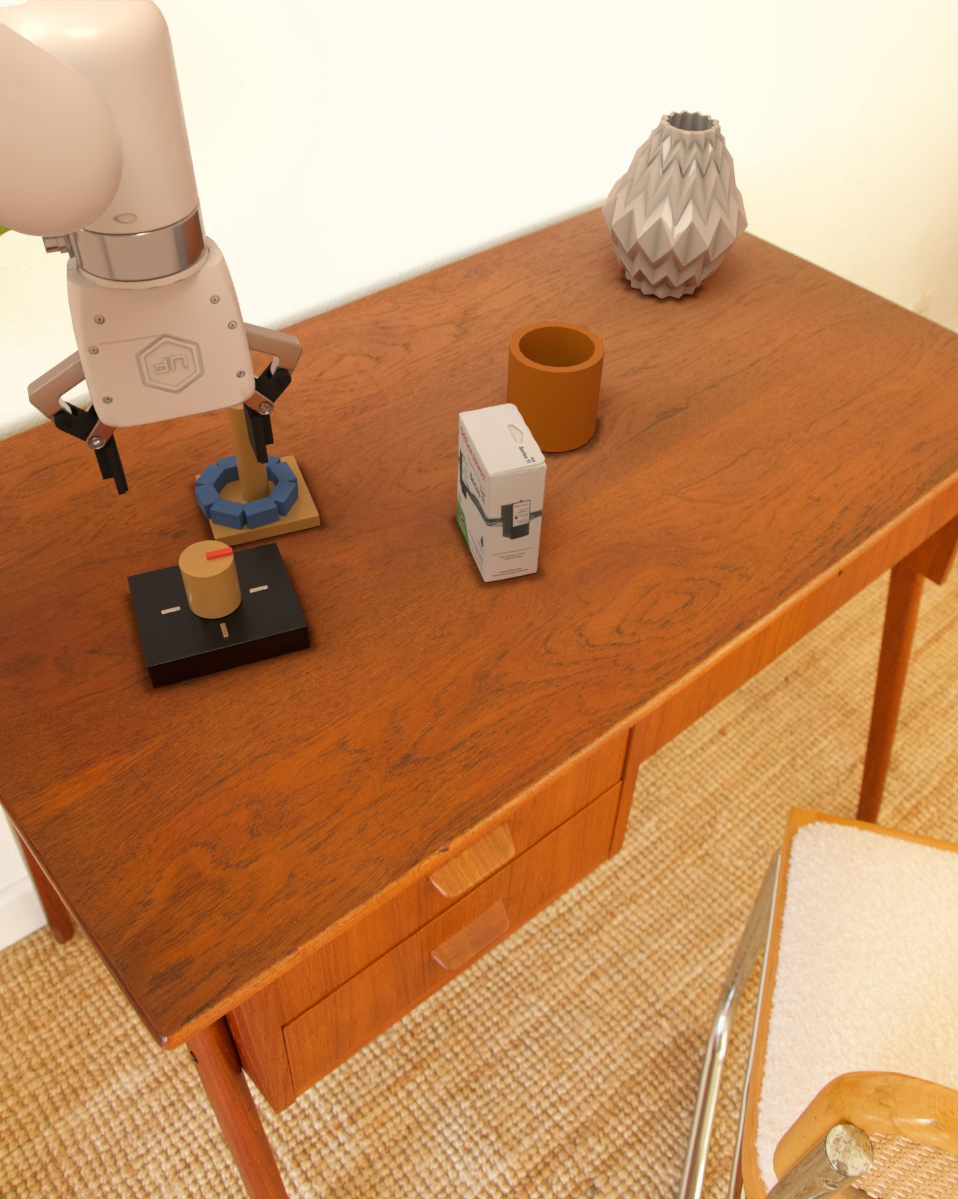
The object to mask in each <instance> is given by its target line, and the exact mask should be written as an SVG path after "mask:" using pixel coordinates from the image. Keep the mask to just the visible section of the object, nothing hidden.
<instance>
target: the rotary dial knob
mask: <svg viewBox="0 0 958 1199" xmlns="http://www.w3.org/2000/svg"><path fill="white" fill-rule="evenodd" d="M233 552H234V551H233V548H232V546H228V545H226V544H224V543H222V542H219V541H215V540H212V539H211V540H209V539H208V540H207V539H206V540H201V541H197V542H194V543H193V544H190V545H188V546H187V547H186V548H185V549H184V550H183V551H182V552H181V554H180V555H179V558H178V565H179V567H180V571H181V575H182V579H183V583H184V587H185V591H186V595H187V599H188V603H189V606H190V609H191V610H192V612H193V613H195V614H196V615H198V616H200V617H203V618H207V619H216V618H221V617H224V616H227V615H229V614H231V613H232V612H234V611H235V610H236V609H237V608H238V606H239V605H240V603H241V599H242V596H241V591H240V586H239V580H238V575H237V570H236V565H235V560H234V555H233Z"/></svg>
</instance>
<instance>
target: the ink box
mask: <svg viewBox="0 0 958 1199" xmlns="http://www.w3.org/2000/svg"><path fill="white" fill-rule="evenodd" d="M457 449H458V452H457V454H458V455H457V482H456V496H457V497H456V498H457V499H456V522H457V524H458V526H459V528H460V530H461V533H462V535H463V537H464V540H465V541H466V544H467V547H468V549H469V551H470V553H471V555H472V557H473V560H474V562H475V564H476V566H477V568H478V571H479V573H480V575H481V578H482V579H483V581H484V582H485V583H490V582H495V581H501V580H507V579H512V578H517V577H521V576H527V575H531V574H536V573H538V567H539V554H540V545H541V544H540V543H541V533H542V522H543V510H544V501H545V500H544V499H545V490H546V489H545V488H546V481H547V480H546V479H547V469H548V467H547V463H546V457H545V455H544V454H543V451H541V450H540V448H539V446H538V444H537V443H536V441H535V440H534V438H533V436H532V434H531V432H530V430H529V428H528V427H527V425H526V424H525V422H524V419H523V417H522V416H521V414H520V413H519V411H518V409H517V407H516V406H515V405H514V404H510V403H508V404H507V403H503V404H497V405H492V406H488V407H483V408H478V409H474V410H469V411H463V412H462V411H461V412H459V413H458V448H457Z"/></svg>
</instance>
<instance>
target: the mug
mask: <svg viewBox="0 0 958 1199" xmlns="http://www.w3.org/2000/svg"><path fill="white" fill-rule="evenodd" d="M605 350H606V349H605V345H604V343H603V340H602V339H601V338H600V337H599V335H598V334H596V333H595V332H594V331H591V330H590V329H589V328H588V326H586V325H584V324H580V323H579V324H574V323H571V322H570V323H569V322H564V321H563V322H562V321H542V322H539V323H532V324H529V325H526V326H524V327H522V328H520V329H518V331H516V332H515V333H514V334H513V335H512V336H511V338H510V340H509V343H508V364H507V383H506V384H507V385H506V386H507V388H506V404H508V403H510V404H514V405H515V406H516V407H517V409H518V411H519V413H520V414H521V416H522V417H523V419H524V422H525V424H526V425H527V427H528V428H529V430H530V432H531V434H532V436H533V438H534V440H535V441H536V443H537V444H538V446H539V448H540V450H541V452H546V453H563V452H568V451H572V450H576V449H578V448H580V447H582V446H584V445H587V444H588V442H589V441H590V440H591V439H592V438H593V437H594V434H595V430H596V425H597V415H598V410H599V408H598V407H599V401H600V400H599V399H600V391H601V382H602V375H603V368H604V367H603V366H604V359H605V358H604V357H605Z"/></svg>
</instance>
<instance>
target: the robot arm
mask: <svg viewBox="0 0 958 1199" xmlns="http://www.w3.org/2000/svg"><path fill="white" fill-rule="evenodd" d="M174 54H175V53H174V49H173V42H172V39H171V35H170V30H169V26H168V23H167V21H166V18H165V16H164V14H163V12H162V10H161V9H160V8H159V6H158V5H157V4H156V3H155V2H154V1H153V0H27V1H25V2H24V3H21V4H16V5H7V6H0V226H1V227H4V228H6V229H8V230H10V231H13V232H16V233H18V234H23V235H27V236H33V237H41V239H42V243H43V246H44V249H45V252H46V254H51V253H57V252H58V253H59V252H60V254H66V253H68V255H69V256H68V257H69V258H68V260H67V262H66V289H67V291H66V292H67V301H68V307H69V312H70V319H71V324H72V329H73V334H74V338H75V342H76V347H77V349H76V351H75V352H73V353H72V354H70V355H69V356H68V357H66V358H65V359H63V360H62V361H60V362H59V363H57V364H56V365H55V366H53V367H52V368H50V369H48V370H47V371H45V373H43V374H42V375H40V376H39V377H37V378H36V379H34V380H33V381H31V382H30V383H29V384H28V385H27V388H26V389H27V396H28V401H29V402H28V403H30V405H32V406H33V407H34V408H35V409H37V410H38V411H39V412H40V413H41V414H42V415H43V416H44V417H46V418H47V419H49V420H50V421H51V422H53V423H54V426H55V428H57V430H59V431H62V432H63V433H65V434H68V435H71V437H75V438H77V439H79V440H80V441H83V442H85V443H86V447H88V448H89V449H91V450H93V451H94V455H95V458H96V461H97V465H98V468H99V470H100V474H101V478H102V480H103V481H104V480H111V479H113V481H114V484H115V487H116V491H117V494H118V496H121V495H125V494H127V492H129V491H130V488H129V486H128V481H127V478H126V474H125V470H124V466H123V462H122V459H121V456H120V451H119V449H118V445H117V441H116V438H115V434H114V432H115V430H116V429H117V428H119V429H123V428H126V429H127V428H135V427H139V426H145V425H150V424H151V425H152V424H156V423H161V422H166V421H171V420H175V419H180V418H181V419H182V418H186V417H192V416H196V415H201V414H205V413H210V412H211V413H212V412H215V411H219V410H224V409H227V408H229V407H233V406H236V405H239V404H241V403H243V408H244V414H245V420H246V426H247V431H248V437H249V441H250V444H251V447H252V449H253V452H254V454H255V457H256V459H257V462H258V463H259V462H260V463H261V464H264V463H268V455H269V454H268V450H267V446H269V445H274V444H275V439H274V433H273V427H272V420H271V414H272V413H273V412H274V410H275V404H274V403H275V402H277V400H279V398H280V397H281V396H282V394H283V393H284V392H285V391H286V389H287V388H289V386H290V385H291V383H292V380H293V379H292V375H293V373H294V372H295V370H296V368H297V366H298V363H299V361H300V357H301V356H302V353H303V347H302V345H301V342H300V341H299V339H298V337H296V335H294V334H290V333H287V332H283V331H279V330H275V329H273V328H267V327H263V326H259V325H256V324H252V323H248V322H245V321H244V318H243V315H242V311H241V305H240V302H239V299H238V295H237V291H236V287H235V284H234V280H233V278H232V275H231V272H230V269H229V266H228V263H227V261H226V259H225V258H226V257H225V256H224V253H223V252H222V250H221V248H220V247H219V246H218V245H217V243H216V242H215V240H214V239H212V238H211V237H210V236H208V235H206V230H205V224H204V218H203V213H202V207H201V202H200V197H199V191H198V185H197V180H196V174H195V169H194V162H193V157H192V151H191V146H190V139H189V135H188V128H187V123H186V118H185V112H184V105H183V99H182V94H181V88H180V83H179V78H178V77H179V76H178V72H177V66H176V61H175V55H174ZM251 351H255V352H258V353H262V354H266V355H271V356H273V360H272V361H271V362H270V363H269V364H267V366H266V367H265V369H264V370H263V371H262V372H261V374H260V375H259V376H258V375H256V374H255V373H254V372H255V371H254V367H253V361H252V356H251V355H252V354H251ZM83 381H85V384H86V387H87V390H88V394H89V397H90V402H89V403H88V405H86V406H87V407H86V408H85V409H82V408H80V407H78V406H76V405H74V404H72V403H70V402H68V401H65V400H64V399H63V398H62V396H64V395H66V393H68V392H69V391H71V390H72V389H74V388H75V387H76V386H78V385H79V384H81V383H82V382H83Z"/></svg>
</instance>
